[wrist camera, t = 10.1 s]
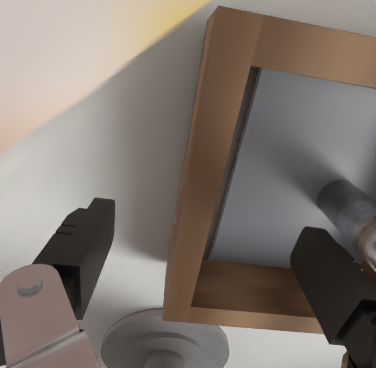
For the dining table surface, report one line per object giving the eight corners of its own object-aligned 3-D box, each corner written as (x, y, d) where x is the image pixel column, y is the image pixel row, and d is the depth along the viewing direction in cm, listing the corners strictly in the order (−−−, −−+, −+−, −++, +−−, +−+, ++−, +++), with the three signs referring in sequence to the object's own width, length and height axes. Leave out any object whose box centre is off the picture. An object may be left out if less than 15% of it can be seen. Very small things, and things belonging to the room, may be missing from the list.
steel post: (363, 183, 16) (483, 267, 9) (345, 215, 17) (442, 310, 10) (326, 177, 15) (424, 261, 9) (310, 210, 16) (388, 305, 10)
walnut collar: (508, 80, 13) (632, 89, 9) (362, 290, 20) (400, 340, 17) (207, 21, 11) (218, 5, 8) (166, 270, 19) (162, 320, 15)
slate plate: (499, 102, 14) (511, 104, 13) (375, 277, 20) (380, 283, 20) (261, 57, 13) (265, 57, 12) (208, 259, 19) (208, 265, 19)
